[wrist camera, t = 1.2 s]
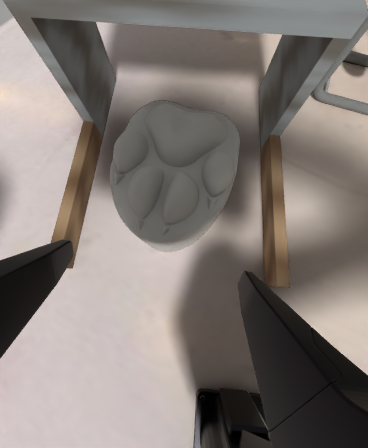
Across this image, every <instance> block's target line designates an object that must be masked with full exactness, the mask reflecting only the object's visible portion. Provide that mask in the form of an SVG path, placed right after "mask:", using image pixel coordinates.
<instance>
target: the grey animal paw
mask: <svg viewBox="0 0 368 448" xmlns="http://www.w3.org/2000/svg"><path fill="white" fill-rule="evenodd" d="M239 149H240V137H239V132H238V130H237V128H236V126H235V125H234V123H233V122H232V121H231V120H230V119H229V118H228V117H226V116H225V115H223V114H220V113H218V112H213V111H204V110H195V109H190V108H187V107H184V106H182V105H179V104H177V103H174V102H170V101H165V100H158V101H154V102H151V103H149V104H147V105H145V106H143V107H142V108H140V109H139V110H138V111H137V112H136V113H135V114H134V115H133V117H132V118H131V120H130V121H129V123H128V125H127V127H126V129H125V131H124V132H123V133H122V134H121V135H120V136H119V138H118V139H117V141H116V143H115V146H114V150H113V155H114V156H113V160H112V163H111V167H110V184H111V190H112V195H113V200H114V204H115V207H116V209H117V212H118V214H119V215H120V217H121V219H122V220H123V222H124V223H125V224H126V226H127V227H128V228H129V229H130V230H131V231H132V232H133V233H134V234H135V235H136V236H137V237H138V238H140V239H141V240H142V241H144V242H145V243H146V244H148V245H149V246H151V247H152V248H154V249H156V250H158V251H161V252H174V251H178V250H181V249H183V248H186V247H188V246H190V245H192V244H193V243H194V242H196V241H197V240H198V239H199V238H200V237H201V236H202V235H203V234H204V233H205V232H206V231H207V230H208V229H209V228H210V227H211V226H212V224H213V223H214V221H215V220H216V218H217V217H218V215H219V214H220V212H221V211H222V209H223V208H224V206H225V204H226V203H227V200H228V198H229V195H230V193H231V190H232V187H233V183H234V180H235V176H236V171H237V166H238V157H239Z"/></svg>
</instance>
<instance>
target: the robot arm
mask: <svg viewBox="0 0 368 448" xmlns="http://www.w3.org/2000/svg"><path fill="white" fill-rule="evenodd" d="M73 256H74V251H73V243H72V241H70V240H65V239H62V240H59V241H56V242H53V243H50V244H47V245H44V246H41V247H38V248H35V249H32V250H29V251H27V252H24V253H21V254H18V255H15V256H12V257H9V258H6V259H3V260H0V358H1V357H2V356H3V354H4V353H5V352H6V350H7V349H8V348H9V347H10V345H11V344H12V343H13V341H14V340H15V339H16V337H17V336H18V335H19V333H20V332H21V331H22V329H23V328H24V327H25V326H26V324H27V323H28V322H29V320H30V319H31V318H32V316H33V315H34V314H35V312H36V311H37V310H38V308H39V307H40V306H41V304H42V303H43V302H44V301H45V299H46V298H47V297H48V295H49V294H50V293H51V291H52V290H53V289H54V287H55V286H56V285H57V283H58V281H59V280H60V278H61V277H62V275H63V273H64V272H65V270H66V268H67V267H68V265H69V263H70V262H71V260H72V258H73ZM238 290H239V298H240V306H241V313H242V318H243V322H244V327H245V331H246V335H247V340H248V344H249V348H250V353H251V357H252V361H253V366H254V370H255V374H256V379H257V383H258V387H259V391H260V394H257V393H248V391H246V390H235V389H224V388H221V389H220V390H213V389H199V390H198V392H197V401H196V420H195V440H194V448H368V375H367V374H365V373H364V372H363V371H362V370H361V369H359V368H358V367H357V366H356V365H355V364H353V363H352V362H351V361H350V360H349V359H347V358H346V357H345V356H344V355H343V354H341V353H340V352H339V351H338V350H337V349H336V348H334V347H333V346H332V345H331V344H330V343H329V342H328V341H327V340H325V339H324V338H323V337H322V336H321V335H320V334H319V333H318V332H317V331H316V330H314V329H313V328H311V326H310V325H309V324H308V323H307V322H306V321H305V320H303V319H302V318H301V317H300V316H299V315H298V314H297V313H296V312H295V311H294V310H293V309H292V308H290V307H289V306H288V305H287V304H286V303H285V302H284V301H283V300H282V299H281V298H280V297H278V296H277V295H276V294H275V293H274V292H273V291H272V290H271V289H270V288H269V287H268V286H266V285H265V284H264V283H263V282H262V281H261V280H260V279H259V278H258V277H257V276H256V275H254V274H253V273H252V272H248V271H244V272H243V273H242V276H241V278H240V280H239V282H238ZM201 395H204V396H205V397H204V398H200V396H201ZM261 401H262V404H261Z"/></svg>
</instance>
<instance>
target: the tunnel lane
mask: <svg viewBox="0 0 368 448" xmlns="http://www.w3.org/2000/svg"><path fill="white" fill-rule="evenodd" d="M3 1H4V3H5V4H6V6H7V7H8V9H9V10H10V12H11V13H12V14H13V16H14V18H15V19H16V21H17V22H18V24H19V25H20V27H21V28H22V30H23V31H24V33H25V34H26V36H27V37H28V39H29V40H30V42H31V43H32V45H33V46H34V48H35V49H36V51H37V52H38V54H39V55H40V57H41V58H42V60H43V61H44V63H45V64H46V66H47V67H48V69H49V70H50V72H51V73H52V75H53V76H54V78H55V79H56V81H57V82H58V84H59V85H60V87H61V88H62V90H63V91H64V93H65V94H66V96H67V97H68V99H69V100H70V102H71V103H72V104H73V106H74V107H75V109H76V110H77V112H78V113H79V115H80V116H81V118H82V119H83V125H82V129H81V133H80V136H79V140H78V144H77V147H76V151H75V155H74V159H73V162H72V166H71V170H70V173H69V177H68V181H67V184H66V188H65V192H64V196H63V199H62V203H61V207H60V210H59V214H58V218H57V221H56V225H55V229H54V233H53V236H52V240H51V243H53V242H56V241H59V240H62V239H65V240H70V241H72V243H73V251H74V256H73V258H72V260H71V262H70V263H69V265H68V267H67V268H73V264H74V259H75V255H76V251H77V246H78V242H79V238H80V233H81V229H82V225H83V220H84V216H85V212H86V207H87V203H88V199H89V194H90V190H91V186H92V181H93V177H94V173H95V168H96V164H97V160H98V155H99V151H100V147H101V142H102V138H103V134H104V129H105V125H106V121H107V116H108V112H109V108H110V103H111V99H112V95H113V90H114V86H115V82H116V78H115V76H114V73H113V70H112V67H111V64H110V61H109V58H108V56H107V53H106V50H105V47H104V44H103V41H102V39H101V36H100V33H99V30H98V27H97V24H96V22H107V23H121V24H136V25H151V26H166V27H180V28H195V29H210V30H225V31H239V32H254V33H269V34H283V35H282V37H281V39H280V42H279V44H278V46H277V49H276V51H275V53H274V56H273V58H272V60H271V63H270V65H269V67H268V70H267V72H266V74H265V77H264V79H263V81H262V84H261V86H260V88H259V111H260V143H261V174H262V205H263V237H264V268H265V285H271V286H276V287H286V288H290V282H289V266H288V251H287V235H286V220H285V204H284V189H283V174H282V158H281V143H280V135H281V134H282V132H283V131H284V130H285V128H286V127H287V126H288V124H289V123H290V121H291V120H292V119H293V117H294V116H295V115H296V113H297V112H298V111H299V109H300V108H301V106H302V105H303V104H304V102H305V101H306V100H307V98H308V97H309V96H310V94H311V93H312V91H313V90H314V89H315V87H316V86H317V85H318V83H319V82H320V81H321V79H322V78H323V76H324V75H325V74H326V72H327V71H328V70H329V68H330V67H331V66H332V64H333V63H334V61H335V60H336V59H337V57H338V56H339V55H340V53H341V52H342V51H343V49H344V48H345V46H346V45H347V44H348V42H349V41H350V40H351V38H352V37H353V36H354V34H355V33H356V31H357V30H358V29H359V27H360V26H361V25H362V23H363V22H364V21H365V19H366V18H367V16H368V9H367V5H366V1H365V0H3Z"/></svg>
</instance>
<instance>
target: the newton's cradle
mask: <svg viewBox="0 0 368 448" xmlns="http://www.w3.org/2000/svg"><path fill="white" fill-rule="evenodd" d="M367 29H368V16H367V18H366V19H365V21H364V22H363V23H362V25H361V26H360V27H359V29H358V30H357V31H356V33H355V34H354V36H353V37H352V38H351V40H350V41H349V42H348V44H347V45H346V46H345V48H344V49H343V51H342V52H341V53H340V55H339V56H338V57H337V59H336V60H335V61H334V63H333V64H332V66H331V67H330V68H329V70H328V71H327V72H326V74H325V75H324V76H323V78H322V79H321V81H320V82H319V83H318V85H317V86H316V87H315V89H314V90H313V93H314V97H315V98H316V99H317V100H318V101H320V102H322V103H326V104H330V105H333V106H337V107H341V108H344V109H348V110H351V111H355V112H359V113H362V114H366V115H368V104H367V103H363V102H360V101H356V100H352V99H349V98H345V97H341V96H337V95H334V94H330V93H327V92H328V87H329V81H330V77H331V76H332V74H333V73H334V72H335V70H336V69H337V68H338V66H339V65H340V64H341V63H342V61H347V62H351V63H354V64H358V65H362V66H366V67H368V55H365V54H361V53H357V52H353V51H351V50H352V48H353V47H354V46H355V44H356V43H357V42H358V41H359V39H360V38H361V37H362V35H363V34H364V33H365V32H366V30H367ZM325 83H326V85H325ZM324 85H325V90H324Z"/></svg>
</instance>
